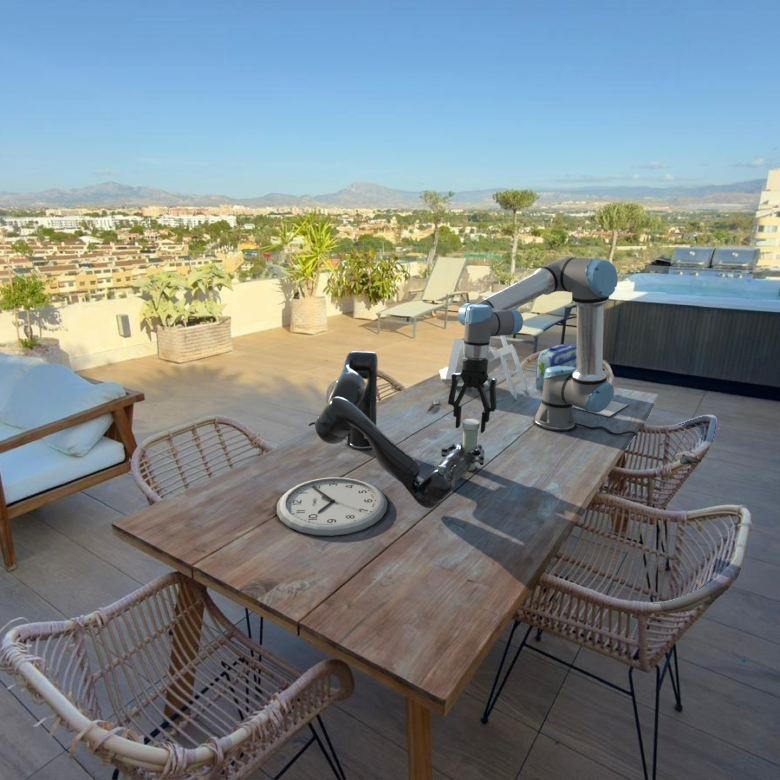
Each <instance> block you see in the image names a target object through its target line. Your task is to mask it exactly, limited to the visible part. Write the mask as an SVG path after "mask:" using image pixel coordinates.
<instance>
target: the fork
mask: <svg viewBox="0 0 780 780" xmlns="http://www.w3.org/2000/svg"><path fill="white" fill-rule="evenodd" d="M441 398H442V396H441V397H440V396H436V397H435V398H434V400H433V404H432V405H431V406H430V407H429V408H428V410H427V411H428V412H430V411H431V410H432V409H433V408H434V407H435V406H436V405H439V404H440V402H441Z"/></svg>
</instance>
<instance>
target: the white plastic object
mask: <svg viewBox="0 0 780 780" xmlns="http://www.w3.org/2000/svg"><path fill="white" fill-rule="evenodd" d="M499 338H500V342H501V345H502V347H500V348H498V349H496V350H495V349H493V348H492V347H491V346H490V344H489V356H488V357H487V359H488V368H487V374H488V375H489V374H490V373H492V372H494V371H495V370H496V369H497V368H499V367H500V366H502V370H503V373H504V376H505V380H506V383H507V386H508V390H509V393H510V394H511V395H512V397H513V398H514V399H515V400H517V392H516V391H517V390H516V388H515V385H514V381H513V378H512V375H511V371H510V369H509V365H508V361H510V360H513V363H514V366H515V369H516V372H517V376H518V380H519V382H520V385H521V389H522V391H523V393H524V395H525V396H526V397H528V396H531V395H530V390H529V388H528V387H529V386H528V384H527V381H526V378H525V375H524V371H523V369H522V368H523V367H522V366H521V362H520V359H519V355H518V352H517V349H516V347H515V346H514V345H513V343H511V344H508V341H507V337H506V335H502V336H499ZM463 349H464V338H460V339H458V338H454V340H453V344H452V349H451V353H450V357H449V362H448V366H446V367H444V368H442V369H440V370H439V371H438V372H439V376H440V381H442V383H443V384H444V385H445V386H449V385H450V386H451V385H452V377H451V376H452V375H453V374H454V373H461V372H462V363H463V358H464V356H463ZM458 384H464V382H463V380H462V378H461V377H460V379H459V380H458Z"/></svg>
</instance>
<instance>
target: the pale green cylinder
mask: <svg viewBox="0 0 780 780" xmlns="http://www.w3.org/2000/svg"><path fill="white" fill-rule="evenodd" d="M462 430H463V431H462V433H463V434H462V442H463V445H462V450H465V451H466V450H467V451H468V450H470V449H475V448H476V447H477V445H478V438H479V437H478V435H479V429H478V430H474V431H472V430H466V429H464V428H463V429H462ZM476 463H477V462H475V463H474V464H471V466H470V468H469V469H468V470H467V472H468V471H474V470H476Z"/></svg>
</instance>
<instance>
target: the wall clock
mask: <svg viewBox="0 0 780 780" xmlns="http://www.w3.org/2000/svg"><path fill="white" fill-rule="evenodd" d="M387 509H388V500H387V498H386V496H385V494H384V493H383V492H382V491H381V490H380V489H379V488H377V487H376V486H374V485H372V484H371V483H369V482H365V481H362V480H359V479H355V478H349V477H338V476H337V477H335V476H333V477H332V476H331V477H322V478H317V479H312V480H307V481H305V482H302V483H299V484H297V485H295V486H293V487H292V488H290V489H288V490H287V491H286V492H285V493H284V494H283V495H281V496H280V498H279V499H278V502H277V503H276V515H277V517H278V518H279V520H280V521H281V522H282V523H283V524H285V525H286V526H287V527H288V528H290V529H293V530H295V531H297V532H299V533H303V534H308V535H312V536H327V537H328V536H329V537H331V536H332V537H333V536H342V535H350V534H352V533H356V532H361V531H363V530H366V529H368V528H369V527H372V526H373V525H375V524H376V523H378V522H379V521H380V520H381V519H382V518H383V517H384V516H385V514H386V512H387Z"/></svg>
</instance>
